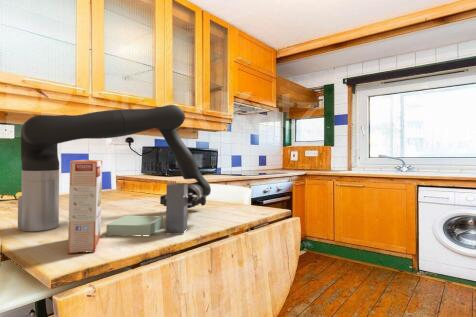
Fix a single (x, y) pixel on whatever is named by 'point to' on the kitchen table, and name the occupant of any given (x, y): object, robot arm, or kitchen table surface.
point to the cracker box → (84, 205)
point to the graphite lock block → (176, 207)
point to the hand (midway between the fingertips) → (178, 203)
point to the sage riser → (134, 225)
